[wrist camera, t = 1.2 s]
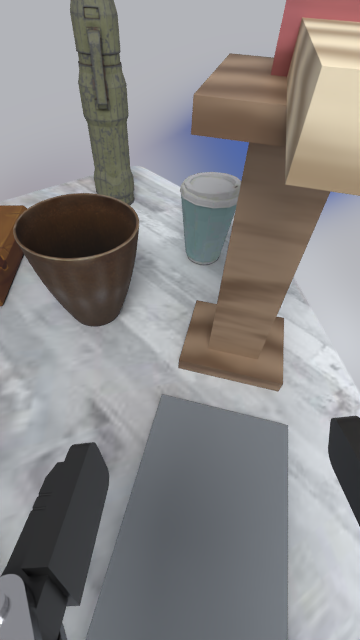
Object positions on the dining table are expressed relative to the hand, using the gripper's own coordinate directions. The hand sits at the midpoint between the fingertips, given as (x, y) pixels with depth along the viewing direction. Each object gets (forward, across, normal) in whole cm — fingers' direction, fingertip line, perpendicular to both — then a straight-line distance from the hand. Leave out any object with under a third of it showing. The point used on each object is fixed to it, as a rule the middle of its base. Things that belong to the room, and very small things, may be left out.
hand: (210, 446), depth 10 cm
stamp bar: (+14, -8, -10) cm, 19 cm away
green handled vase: (+71, +18, -2) cm, 73 cm away
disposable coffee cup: (+52, -1, +9) cm, 53 cm away
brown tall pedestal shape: (+31, -3, +17) cm, 36 cm away
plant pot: (+36, +17, +11) cm, 42 cm away
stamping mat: (+8, +4, +24) cm, 26 cm away
